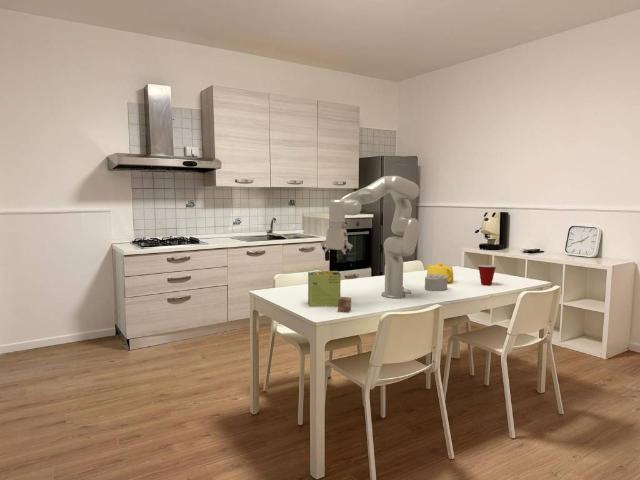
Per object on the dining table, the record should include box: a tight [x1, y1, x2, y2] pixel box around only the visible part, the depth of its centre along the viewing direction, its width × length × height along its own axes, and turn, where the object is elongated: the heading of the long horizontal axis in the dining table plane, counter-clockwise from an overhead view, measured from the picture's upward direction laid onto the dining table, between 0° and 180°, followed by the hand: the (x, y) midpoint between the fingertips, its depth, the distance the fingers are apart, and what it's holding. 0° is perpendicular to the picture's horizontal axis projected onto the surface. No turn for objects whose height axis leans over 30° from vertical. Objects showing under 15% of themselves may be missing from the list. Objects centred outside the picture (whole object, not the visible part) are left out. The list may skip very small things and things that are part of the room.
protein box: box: [307, 270, 342, 307], centre depth 216 cm, size 10×15×16 cm
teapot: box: [425, 262, 454, 284], centre depth 277 cm, size 20×12×12 cm, turn 34°
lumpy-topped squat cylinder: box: [424, 274, 448, 292], centre depth 253 cm, size 10×13×9 cm
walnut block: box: [337, 296, 352, 314], centre depth 203 cm, size 5×5×6 cm
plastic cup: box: [477, 264, 497, 286], centre depth 267 cm, size 11×11×12 cm
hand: (335, 261), depth 212 cm, fingers open, 9 cm apart
